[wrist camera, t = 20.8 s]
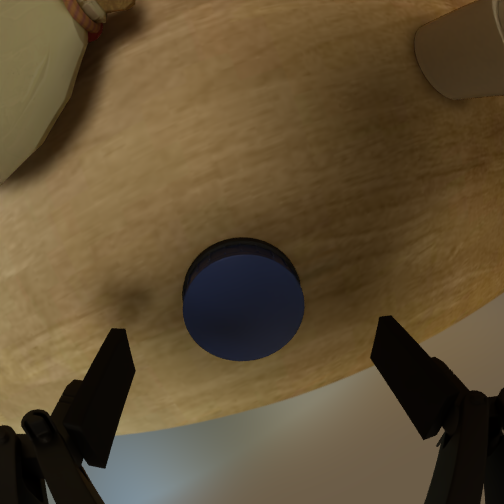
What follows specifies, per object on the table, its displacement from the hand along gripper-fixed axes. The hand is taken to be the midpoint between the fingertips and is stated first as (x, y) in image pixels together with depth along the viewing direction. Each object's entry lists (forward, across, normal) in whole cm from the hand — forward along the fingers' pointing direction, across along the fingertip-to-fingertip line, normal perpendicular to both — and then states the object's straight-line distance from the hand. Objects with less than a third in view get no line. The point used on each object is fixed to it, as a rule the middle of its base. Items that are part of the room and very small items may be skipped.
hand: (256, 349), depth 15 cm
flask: (+7, -15, +17) cm, 24 cm away
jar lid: (+4, 0, 0) cm, 4 cm away
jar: (+7, +16, +19) cm, 26 cm away
